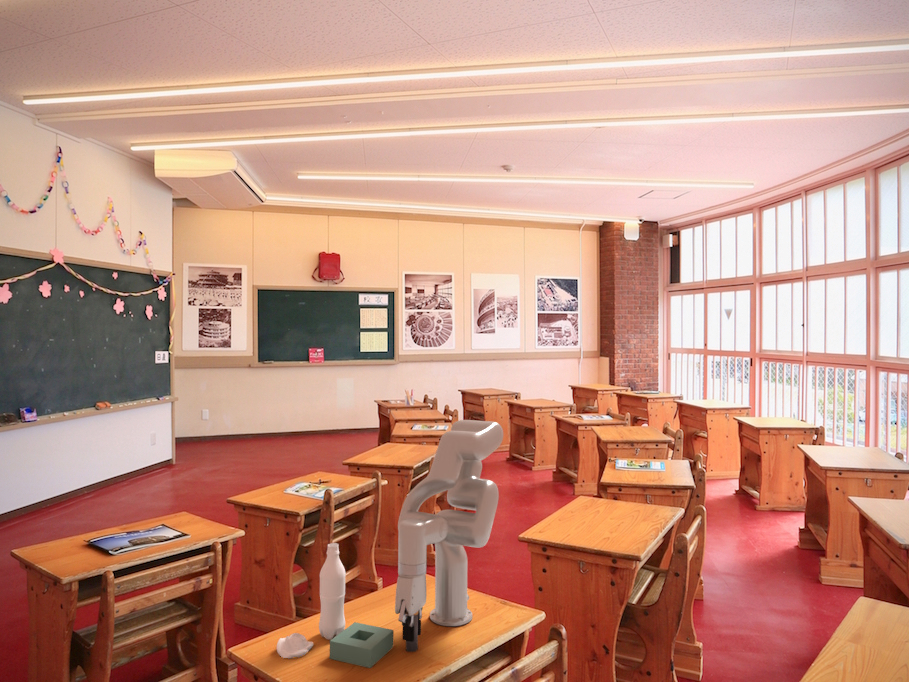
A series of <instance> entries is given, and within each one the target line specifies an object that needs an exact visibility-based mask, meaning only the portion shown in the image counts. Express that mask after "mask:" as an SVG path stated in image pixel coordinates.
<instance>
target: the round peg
mask: <svg viewBox="0 0 909 682" xmlns="http://www.w3.org/2000/svg"><path fill="white" fill-rule="evenodd" d="M406 612H407V611H406ZM407 613H408V612H407ZM406 618H408V619H409V620H410V617H408V616H406ZM413 626H414V641H413V642H410V641H406V640H405V650H406V652H409V653H415V652H417V651H418V648H419V635H418V611H417V612H416V613H415V614H414V617H413Z"/></svg>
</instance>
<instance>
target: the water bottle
mask: <svg viewBox="0 0 909 682" xmlns="http://www.w3.org/2000/svg"><path fill="white" fill-rule="evenodd" d="M339 550H340V549H339V543H336V542H331V543H328V544H327V548H326V553H325V554H326V559H325V560H324V561H325V562H324V563H323V565H322V567H321V569H320V571H319V597H320V598H319V599H320V600H319V601H320V616H319V621H318V622H319V623H318V630H319V634H320V636H321V637H323V638H325V639H326V640H329V641H330V640H332V639H333V638H334V637H336V636H337V635H338V634H340V633H341V632H342V631H344V630H345V629H346V619H345V606H344V605H345V595H346V575H347V574H346V573H347V572H346V569H345V566H344V565H343V563H342V561H341V559H340V556H339V555H340V551H339Z"/></svg>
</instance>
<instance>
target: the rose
mask: <svg viewBox="0 0 909 682" xmlns="http://www.w3.org/2000/svg"><path fill="white" fill-rule="evenodd" d="M313 646H314V642H313V641H309V640H308V639H307V637H305V635H303V634H300V633H298V632H295V633H291V634H290V635H287V636H286V637H280V638H279V639H278V641H277V644H276V652H277V654H278V655H279V657H280V656H281V657H280V658H282V657H283V658H282V659H284V658H288V659H294V658H293V657H298V658H301V657H304V656H305V654H306V653H307V652H309V651H310V650H311V649H312V648H313ZM307 654H308V653H307ZM307 654H306V655H307ZM303 655H304V656H303ZM300 656H301V657H300Z"/></svg>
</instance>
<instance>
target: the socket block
mask: <svg viewBox="0 0 909 682" xmlns="http://www.w3.org/2000/svg"><path fill="white" fill-rule="evenodd" d="M393 648H394V629H391V628H390V629H389V628H385V627H382V626H381V627H379V626H375V625H370V624H366V623H360V622H356V621H355V622H353V623H352V624H350V625H349V626H348V627H345V629H344V631H342V632H341V633H340V634H338V635H337V636H336V635H335V636H333V638H332V639H330V640H329V659H330V660H334V661H339V662H343V663H347V664H351V665H356V666H360V667H363V668H364V667H365V668H368V669H371V668H372V667H373V666H375V664H377V663H378V662H379V661H380V660H381V659H382V658H383V657H384V656H385V655H386V654H387V653H389V652H390V651H391V650H392V649H393Z"/></svg>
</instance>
